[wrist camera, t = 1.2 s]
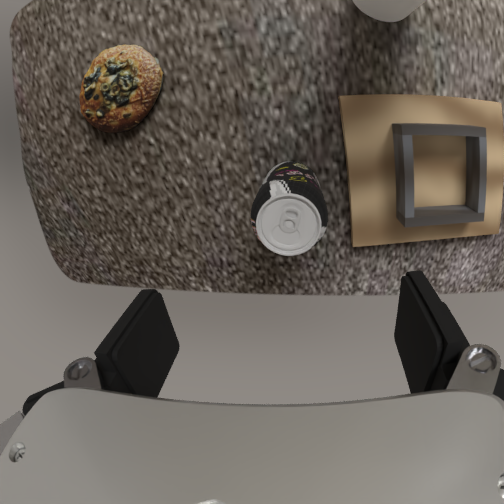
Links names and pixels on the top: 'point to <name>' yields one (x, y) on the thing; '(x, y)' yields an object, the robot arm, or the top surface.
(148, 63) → the bread roll
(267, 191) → the beverage can
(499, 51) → the top surface
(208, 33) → the top surface
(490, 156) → the board
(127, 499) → the robot arm
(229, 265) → the top surface
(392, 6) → the cylindrical container
